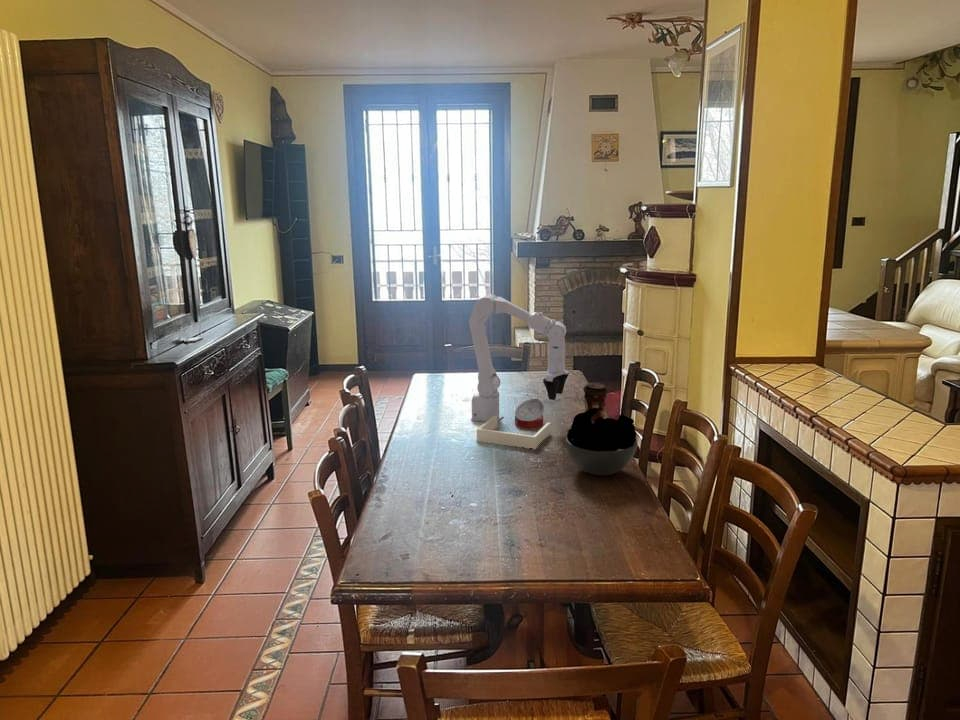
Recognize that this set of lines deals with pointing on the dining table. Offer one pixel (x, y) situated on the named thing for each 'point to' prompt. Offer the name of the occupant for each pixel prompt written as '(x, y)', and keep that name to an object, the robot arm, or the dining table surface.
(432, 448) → the dining table surface
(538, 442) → the box
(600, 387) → the coffee cup
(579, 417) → the bowl of black rocks
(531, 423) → the canned food
